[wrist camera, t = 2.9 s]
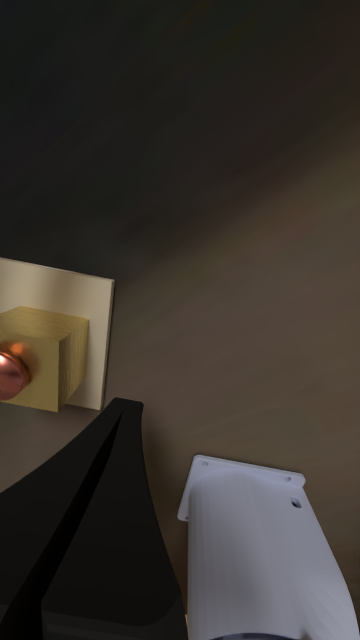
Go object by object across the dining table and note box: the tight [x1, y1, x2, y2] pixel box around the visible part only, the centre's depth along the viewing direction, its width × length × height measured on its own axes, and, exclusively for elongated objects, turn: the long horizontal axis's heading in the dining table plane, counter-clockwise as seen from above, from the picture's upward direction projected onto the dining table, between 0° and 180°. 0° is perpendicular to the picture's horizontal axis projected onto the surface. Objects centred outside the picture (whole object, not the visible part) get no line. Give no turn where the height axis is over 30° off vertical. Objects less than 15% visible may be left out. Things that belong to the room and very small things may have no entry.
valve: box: [0, 306, 89, 412], centre depth 13 cm, size 8×4×4 cm, turn 79°
